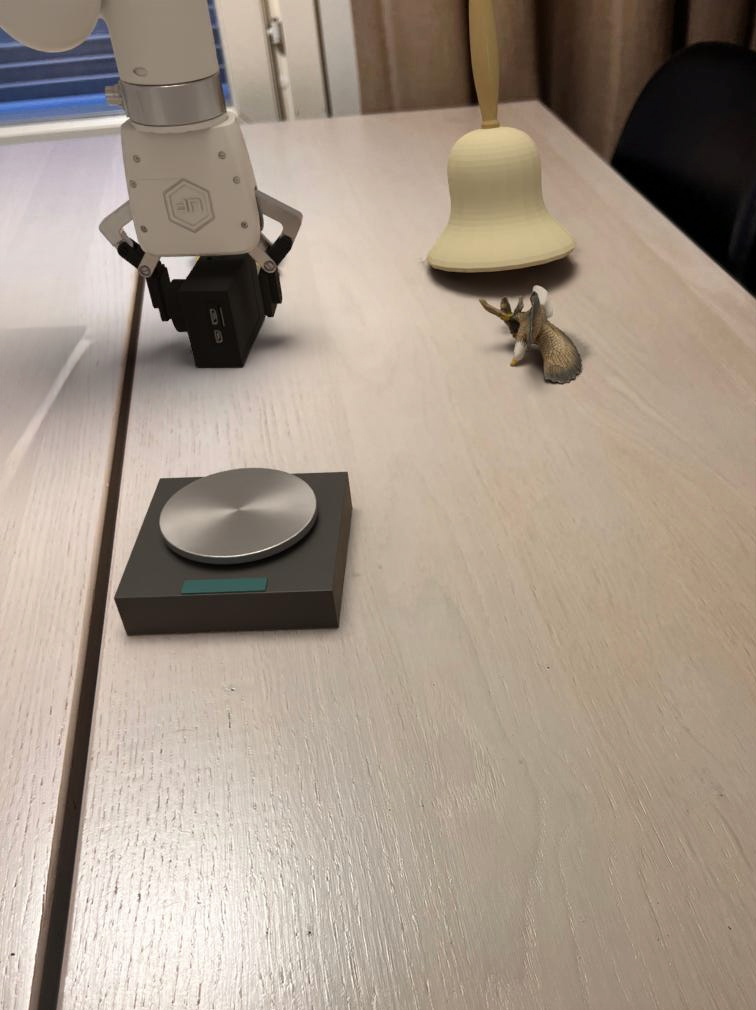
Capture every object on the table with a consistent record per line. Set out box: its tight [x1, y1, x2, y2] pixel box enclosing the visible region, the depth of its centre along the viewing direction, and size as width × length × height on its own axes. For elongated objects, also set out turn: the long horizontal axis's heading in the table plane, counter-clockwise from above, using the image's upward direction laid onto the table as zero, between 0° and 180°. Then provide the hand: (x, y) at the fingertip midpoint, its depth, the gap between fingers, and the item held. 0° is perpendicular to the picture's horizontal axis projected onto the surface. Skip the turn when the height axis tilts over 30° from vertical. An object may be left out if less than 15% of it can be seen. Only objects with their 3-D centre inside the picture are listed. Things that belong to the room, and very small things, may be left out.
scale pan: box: [159, 467, 318, 564], centre depth 63 cm, size 10×10×1 cm
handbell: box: [425, 0, 577, 273], centre depth 95 cm, size 15×15×25 cm
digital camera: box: [168, 253, 266, 368], centre depth 88 cm, size 10×5×7 cm, turn 178°
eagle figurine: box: [478, 285, 583, 384], centre depth 84 cm, size 8×7×9 cm
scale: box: [113, 471, 353, 636], centre depth 64 cm, size 13×13×3 cm
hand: (220, 312), depth 89 cm, fingers open, 8 cm apart
